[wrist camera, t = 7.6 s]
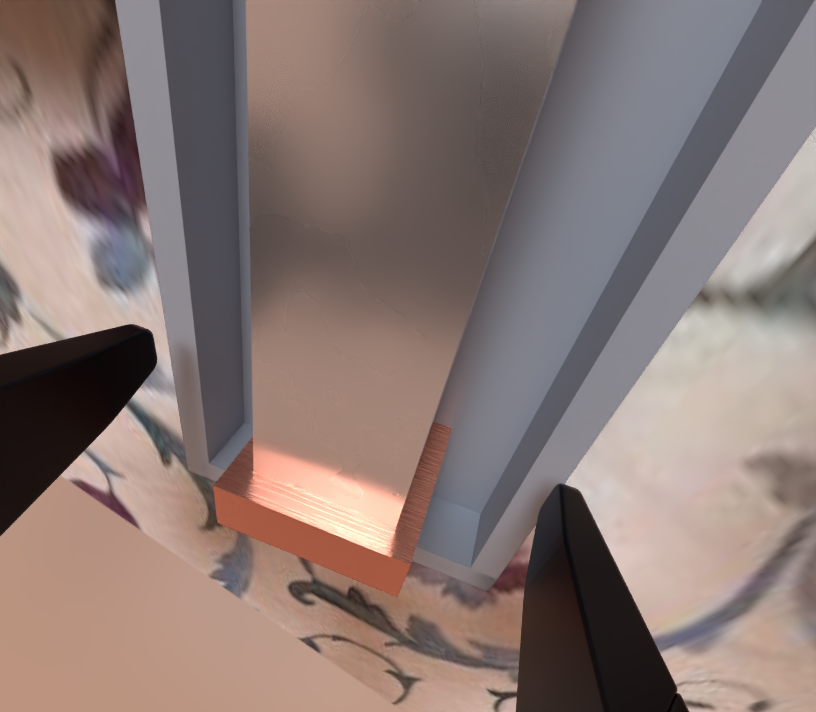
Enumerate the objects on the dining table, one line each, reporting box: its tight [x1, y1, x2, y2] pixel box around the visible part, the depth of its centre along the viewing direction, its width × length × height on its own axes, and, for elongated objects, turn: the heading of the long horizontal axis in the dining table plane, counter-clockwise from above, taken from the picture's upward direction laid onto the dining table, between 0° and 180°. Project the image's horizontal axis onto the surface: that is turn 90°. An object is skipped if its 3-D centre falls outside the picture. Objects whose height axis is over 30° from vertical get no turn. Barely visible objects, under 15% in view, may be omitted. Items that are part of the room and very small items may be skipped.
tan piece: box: [213, 0, 579, 597], centre depth 8 cm, size 15×5×4 cm, turn 168°
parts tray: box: [115, 0, 816, 592], centre depth 9 cm, size 10×20×2 cm, turn 167°
